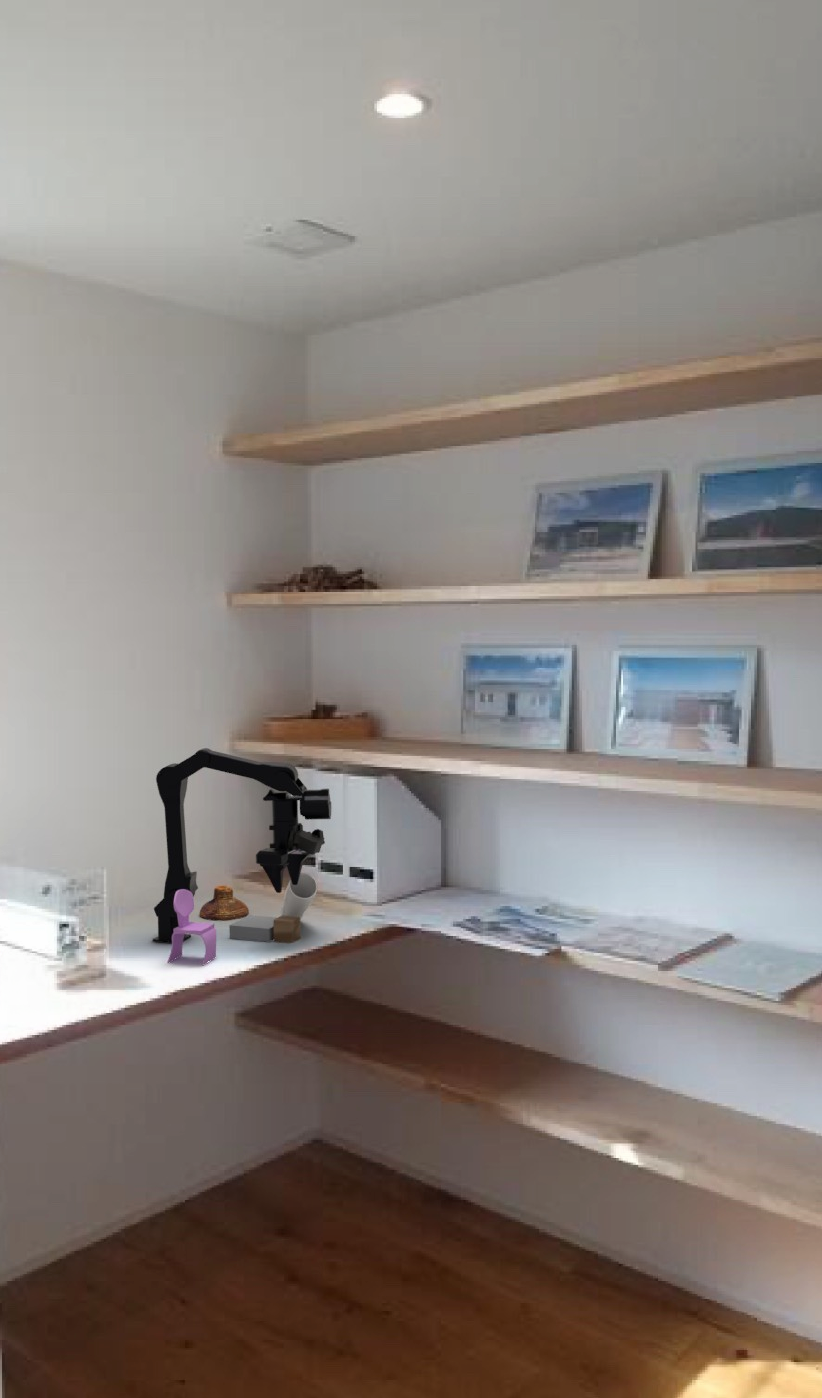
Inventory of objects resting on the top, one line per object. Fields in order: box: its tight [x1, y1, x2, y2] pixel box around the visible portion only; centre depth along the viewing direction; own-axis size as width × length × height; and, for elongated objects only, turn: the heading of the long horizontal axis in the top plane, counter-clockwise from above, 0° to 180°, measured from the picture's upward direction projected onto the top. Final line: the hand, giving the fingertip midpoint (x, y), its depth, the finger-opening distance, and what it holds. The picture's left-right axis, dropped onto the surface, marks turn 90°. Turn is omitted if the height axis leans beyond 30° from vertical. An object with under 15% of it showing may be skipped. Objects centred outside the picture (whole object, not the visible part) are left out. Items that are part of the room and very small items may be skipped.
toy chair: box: [166, 889, 218, 965], centre depth 248 cm, size 8×9×15 cm
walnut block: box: [273, 915, 302, 944], centre depth 264 cm, size 4×4×5 cm
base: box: [228, 914, 279, 943], centre depth 269 cm, size 10×10×3 cm
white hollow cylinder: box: [280, 872, 318, 921], centre depth 274 cm, size 7×7×15 cm
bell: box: [199, 884, 250, 921], centre depth 288 cm, size 12×12×7 cm
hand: (287, 888), depth 263 cm, fingers open, 8 cm apart
